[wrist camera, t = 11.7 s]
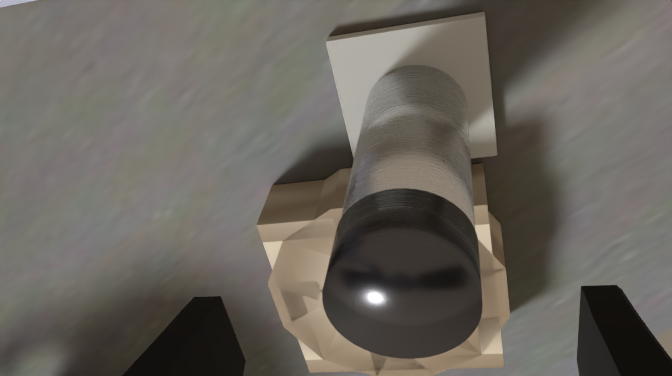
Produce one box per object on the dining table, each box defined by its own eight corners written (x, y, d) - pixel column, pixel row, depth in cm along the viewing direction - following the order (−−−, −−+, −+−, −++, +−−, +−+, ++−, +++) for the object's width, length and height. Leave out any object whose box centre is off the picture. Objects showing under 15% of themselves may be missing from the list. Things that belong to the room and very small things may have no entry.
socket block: (259, 177, 24) (242, 217, 22) (493, 152, 22) (499, 193, 20) (313, 334, 29) (303, 378, 27) (509, 325, 27) (515, 373, 24)
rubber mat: (327, 36, 20) (325, 41, 20) (484, 11, 19) (484, 16, 19) (357, 164, 23) (356, 171, 23) (496, 149, 22) (497, 155, 21)
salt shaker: (365, 154, 22) (328, 353, 15) (362, 63, 20) (315, 240, 13) (466, 157, 22) (476, 364, 14) (472, 63, 20) (488, 248, 12)
